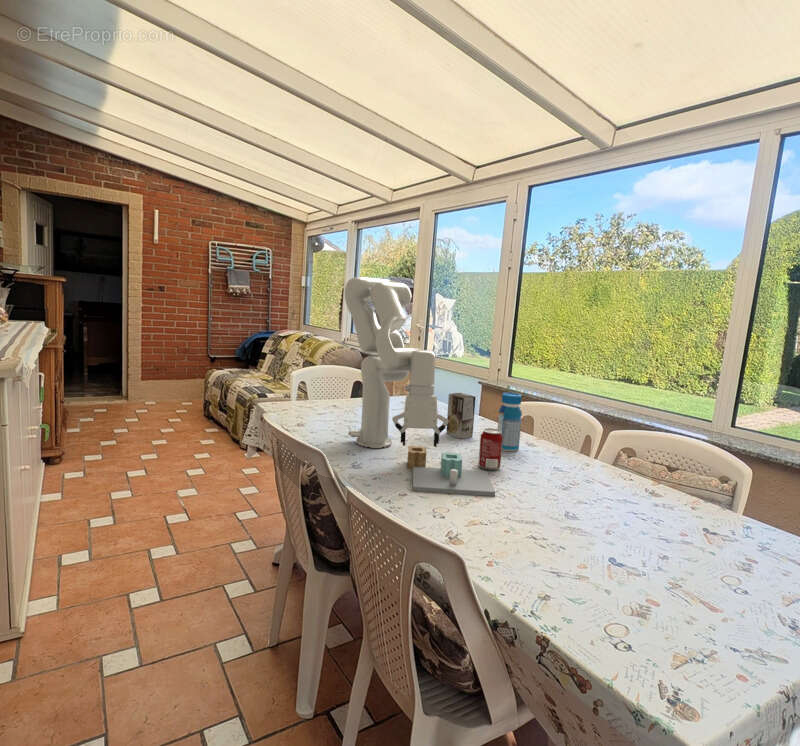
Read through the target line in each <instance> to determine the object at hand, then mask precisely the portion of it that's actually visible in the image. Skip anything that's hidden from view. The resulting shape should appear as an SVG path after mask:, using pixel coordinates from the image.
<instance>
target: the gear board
mask: <svg viewBox="0 0 800 746" xmlns="http://www.w3.org/2000/svg"><path fill="white" fill-rule="evenodd" d="M491 481H492V480H491V479H490V476H489V473H488V472H487V471H486V470H476V469H474V470H473V469H463V458H462V455H461V453H458V452H452V453H450V452H448V451H444V452H441V460H440V467H429V466H428V467H427V466H426V467H414V466H413V469H412V491H413V492H425V493H442V494H454V495H455V494H456V495H472V496H484V497H485V496H486V497H487V496H488V497H496V490H495V487H494V485H493V484H492V482H491Z"/></svg>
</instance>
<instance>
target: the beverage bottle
mask: <svg viewBox="0 0 800 746" xmlns="http://www.w3.org/2000/svg"><path fill="white" fill-rule="evenodd" d="M522 398H523V397H522V395H521V393H516V392H503V393H502V396H501V403H502V405H501V406H500V408H499V410H498V417H497V427H496V429H498V430H500V431H501V435H502V437H503V439H502V450H501V451H504V452H517V451H518V450H520V438H521V430H522V428H521V427H522V421H523V419H522V415H523V412H522V409H521V404H522Z"/></svg>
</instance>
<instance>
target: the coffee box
mask: <svg viewBox="0 0 800 746" xmlns="http://www.w3.org/2000/svg"><path fill="white" fill-rule="evenodd" d="M447 398H448V402H447V416H446V418H447V419H448V420H449V422H448V424H447V426H446V433H445V434H447V435H450V436H452V437H456V438H458V439H460V440H461V439H462V440H463V439H470V438H473V433H474V423H475V422H474V421H475V411H476V410H475V407H476V396H475V395H472V394H467V393H462V392H453V393H448V397H447Z"/></svg>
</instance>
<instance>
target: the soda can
mask: <svg viewBox="0 0 800 746" xmlns="http://www.w3.org/2000/svg"><path fill="white" fill-rule="evenodd" d="M502 439H503V437H502V435H501V431H500V430H498V429H497V428H491V427H490V428H484V429H483V430H482V433H481V434H480V438H479V440H480V441H479V449H478V450H479V452H478V462H477V463H478V466H479V467H481V469H483V470H485V471H486V470H487V471H496V470H497V469H500V468H501V460H502V451H503V450H502Z"/></svg>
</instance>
